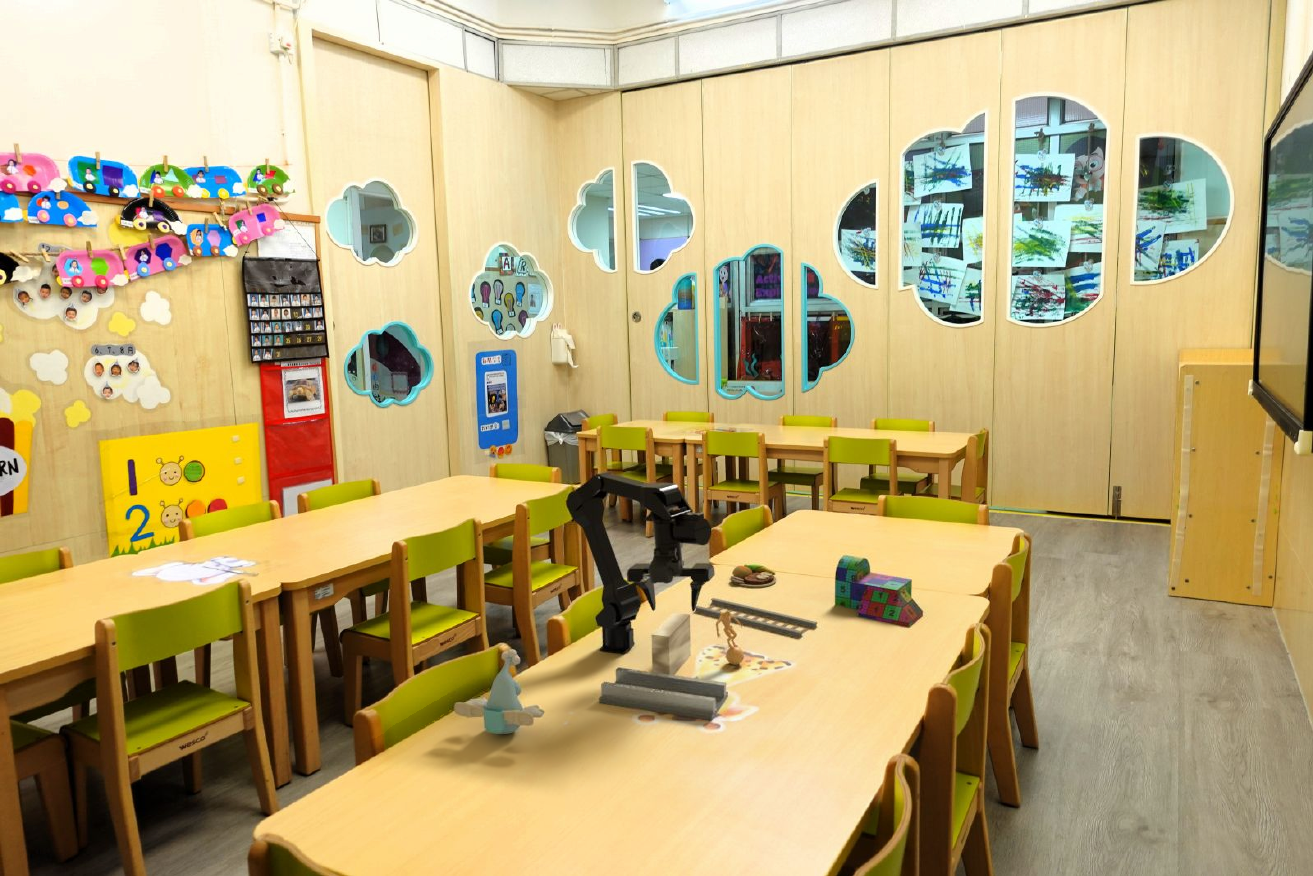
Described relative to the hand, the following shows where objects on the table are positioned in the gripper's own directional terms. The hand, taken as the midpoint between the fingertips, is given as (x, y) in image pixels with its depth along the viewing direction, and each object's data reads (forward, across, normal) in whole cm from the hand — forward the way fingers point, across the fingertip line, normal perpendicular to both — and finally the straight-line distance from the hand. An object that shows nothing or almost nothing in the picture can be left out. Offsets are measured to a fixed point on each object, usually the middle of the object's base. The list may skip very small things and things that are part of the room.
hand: (673, 610), depth 191 cm
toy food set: (+12, +4, +64) cm, 65 cm away
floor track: (+14, +2, -16) cm, 21 cm away
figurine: (+14, +11, +6) cm, 19 cm away
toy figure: (+13, -24, -36) cm, 45 cm away
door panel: (+13, -2, 0) cm, 13 cm away
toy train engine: (+15, +40, +48) cm, 65 cm away
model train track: (+14, +10, +34) cm, 38 cm away
